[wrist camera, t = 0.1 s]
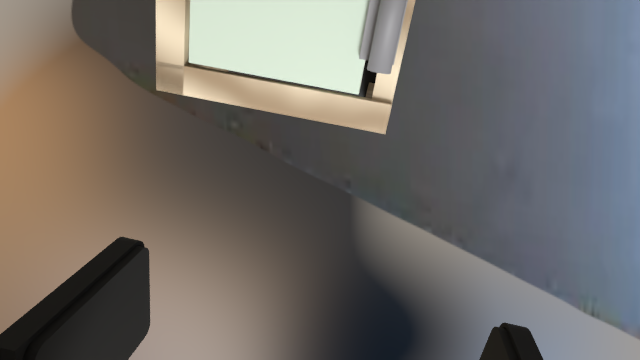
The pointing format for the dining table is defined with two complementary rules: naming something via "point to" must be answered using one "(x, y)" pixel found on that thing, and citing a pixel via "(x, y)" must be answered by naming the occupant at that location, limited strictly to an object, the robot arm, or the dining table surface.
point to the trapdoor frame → (267, 80)
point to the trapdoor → (298, 38)
